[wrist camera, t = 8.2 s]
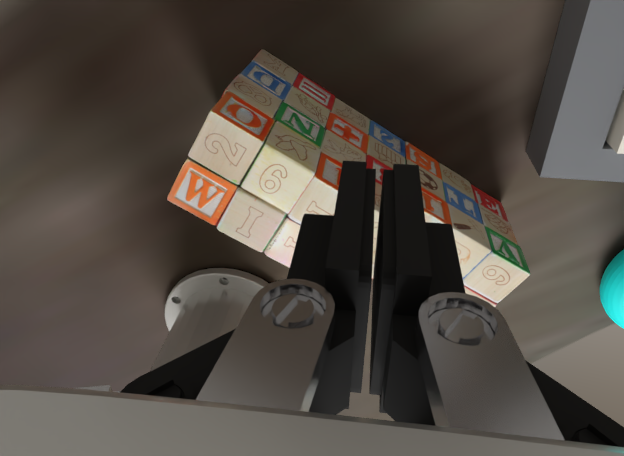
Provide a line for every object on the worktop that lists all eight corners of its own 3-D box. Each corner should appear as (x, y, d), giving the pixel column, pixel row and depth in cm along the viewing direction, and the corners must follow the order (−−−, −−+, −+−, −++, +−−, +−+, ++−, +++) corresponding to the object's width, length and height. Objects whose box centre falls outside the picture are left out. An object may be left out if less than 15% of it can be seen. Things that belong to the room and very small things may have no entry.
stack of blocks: (504, 200, 39) (546, 309, 29) (451, 254, 42) (471, 369, 32) (260, 46, 35) (207, 109, 25) (222, 119, 38) (162, 201, 28)
